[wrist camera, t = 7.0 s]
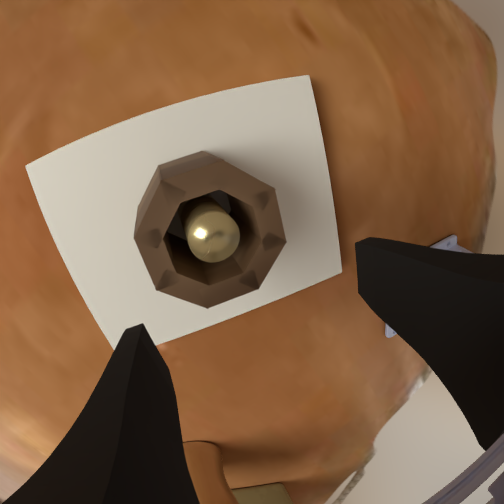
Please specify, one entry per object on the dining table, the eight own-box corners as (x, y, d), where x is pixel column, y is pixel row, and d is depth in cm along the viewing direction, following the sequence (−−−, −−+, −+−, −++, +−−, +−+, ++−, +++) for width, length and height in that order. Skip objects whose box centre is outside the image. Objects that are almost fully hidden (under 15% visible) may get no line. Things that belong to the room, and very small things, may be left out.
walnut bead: (232, 141, 16) (265, 147, 11) (257, 237, 18) (294, 275, 14) (127, 176, 15) (116, 196, 10) (163, 271, 17) (170, 322, 13)
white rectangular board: (297, 77, 17) (309, 74, 15) (331, 263, 22) (342, 272, 21) (34, 162, 14) (25, 165, 12) (119, 343, 20) (119, 357, 18)
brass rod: (203, 178, 17) (232, 205, 12) (213, 210, 18) (245, 252, 13) (170, 190, 17) (181, 223, 11) (181, 222, 18) (197, 269, 12)
